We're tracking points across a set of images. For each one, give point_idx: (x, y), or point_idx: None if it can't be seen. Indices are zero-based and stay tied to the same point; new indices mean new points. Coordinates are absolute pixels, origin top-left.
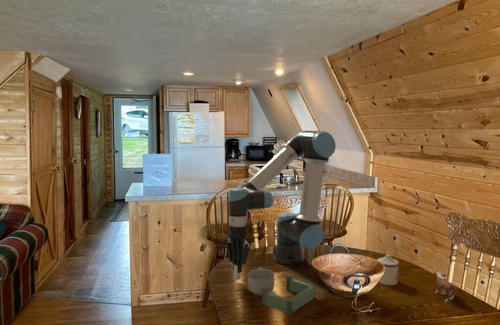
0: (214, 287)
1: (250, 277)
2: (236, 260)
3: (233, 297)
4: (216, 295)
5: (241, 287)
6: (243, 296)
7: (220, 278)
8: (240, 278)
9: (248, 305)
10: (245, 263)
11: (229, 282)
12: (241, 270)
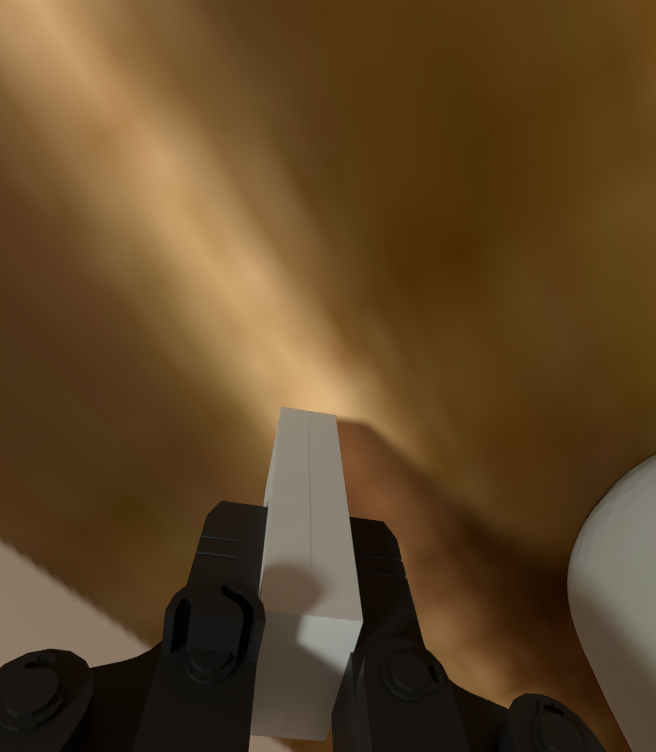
0: (152, 647)
1: (638, 657)
2: (209, 742)
3: None
4: (286, 742)
5: (421, 522)
6: (526, 660)
7: (13, 433)
8: (334, 424)
9: (621, 745)
10: (569, 725)
11: (209, 478)
12: (395, 563)
